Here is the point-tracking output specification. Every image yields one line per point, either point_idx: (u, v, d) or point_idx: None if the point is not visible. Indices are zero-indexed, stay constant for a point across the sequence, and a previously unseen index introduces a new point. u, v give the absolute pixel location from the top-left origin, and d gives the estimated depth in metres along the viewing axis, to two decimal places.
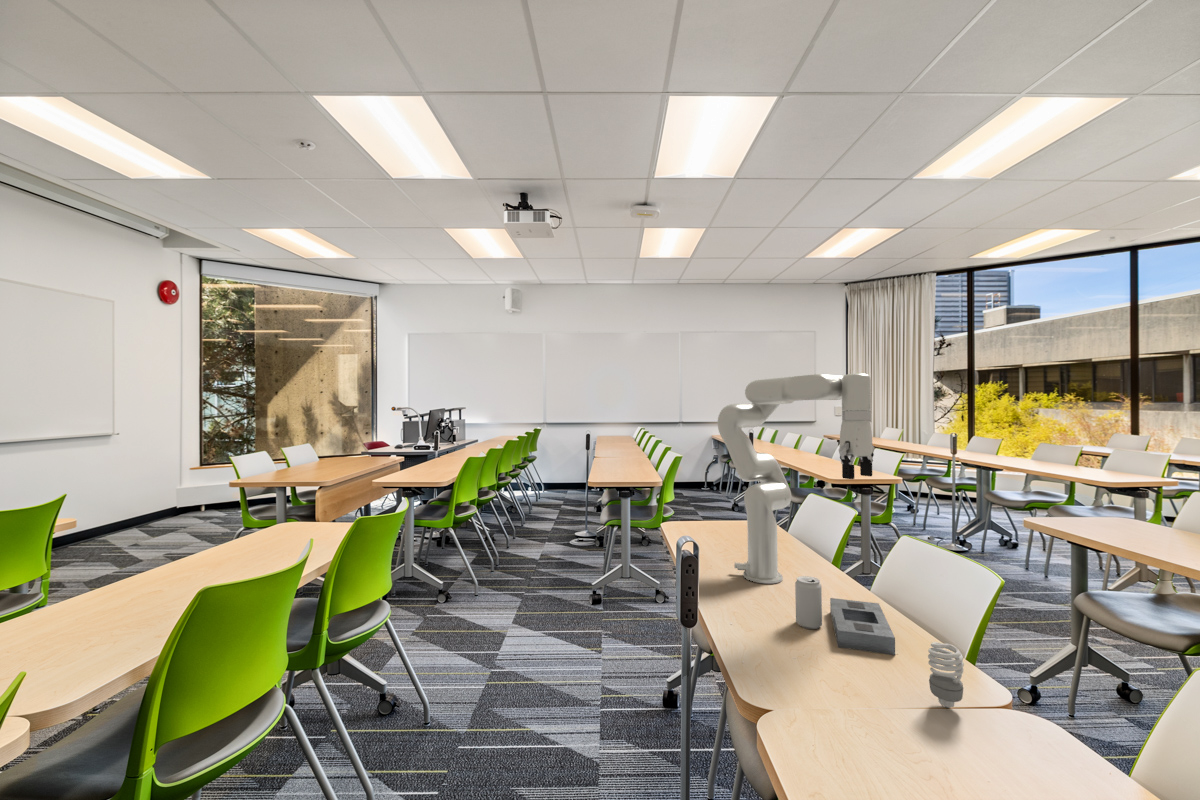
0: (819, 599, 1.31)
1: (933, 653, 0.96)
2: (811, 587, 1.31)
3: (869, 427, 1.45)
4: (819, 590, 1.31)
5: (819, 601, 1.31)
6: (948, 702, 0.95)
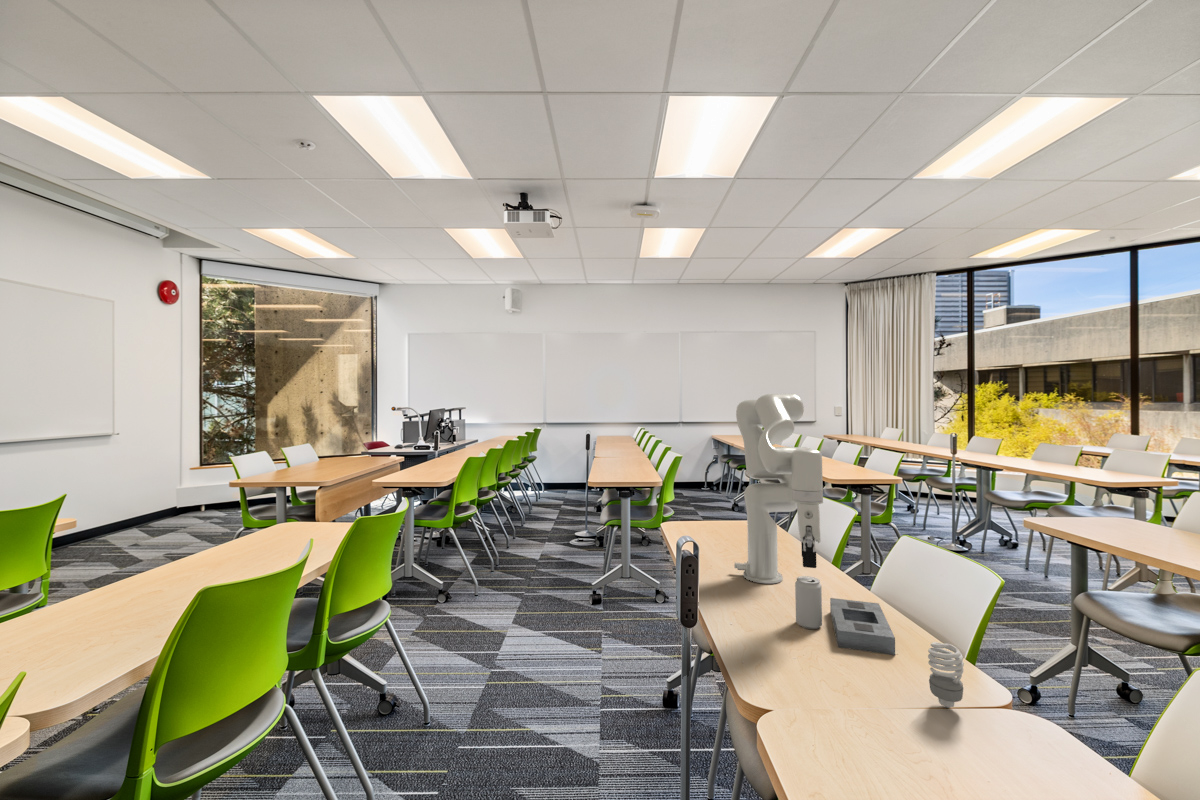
0: (819, 599, 1.31)
1: (933, 653, 0.96)
2: (811, 587, 1.31)
3: (798, 508, 1.32)
4: (819, 590, 1.31)
5: (819, 601, 1.31)
6: (948, 702, 0.95)
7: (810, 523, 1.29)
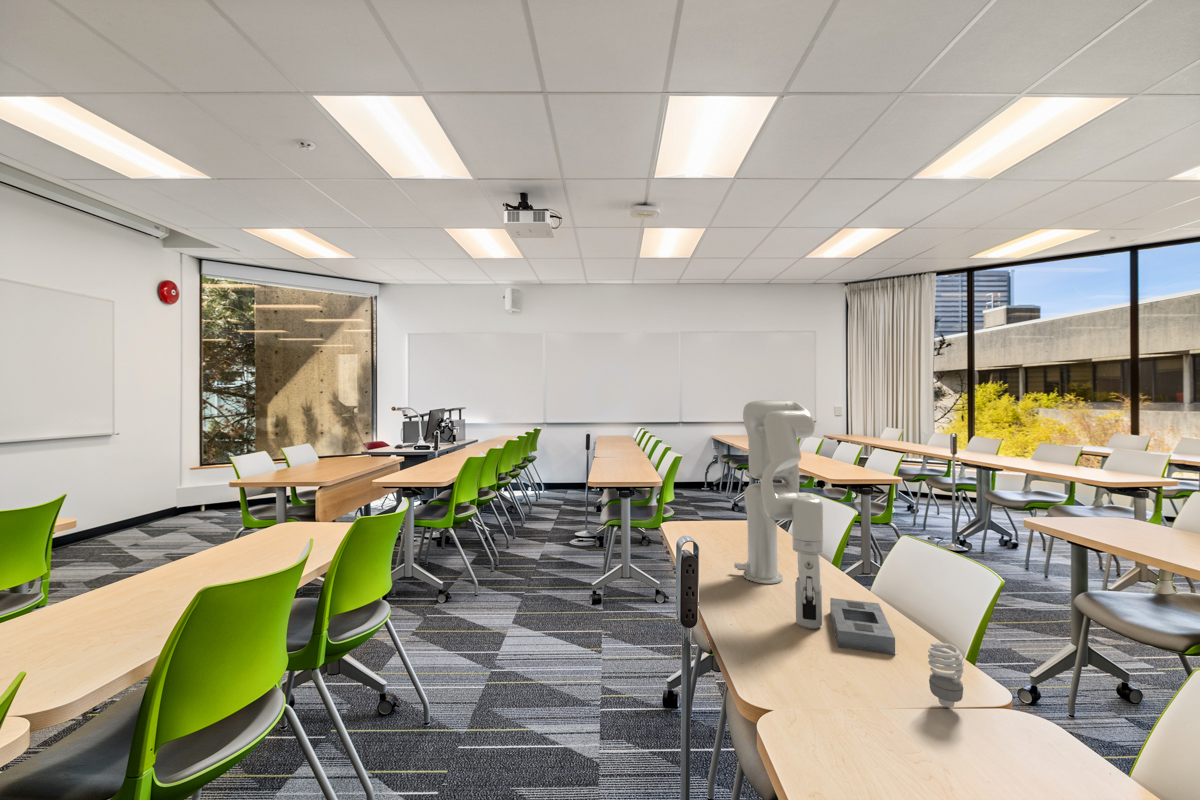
0: (819, 599, 1.31)
1: (933, 653, 0.96)
2: None
3: (798, 558, 1.32)
4: None
5: (819, 601, 1.31)
6: (948, 702, 0.95)
7: (810, 574, 1.29)
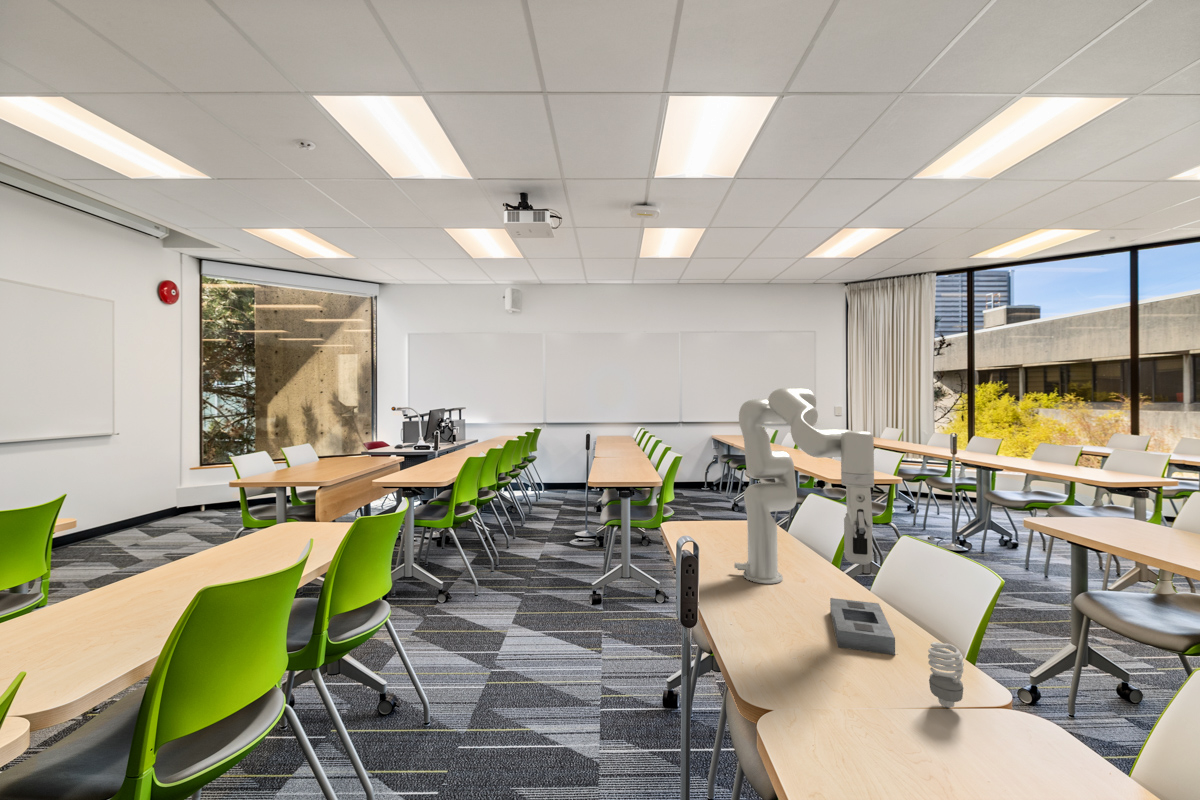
0: (870, 533, 1.27)
1: (933, 653, 0.96)
2: None
3: (848, 492, 1.28)
4: None
5: (870, 536, 1.27)
6: (948, 702, 0.95)
7: (862, 507, 1.25)
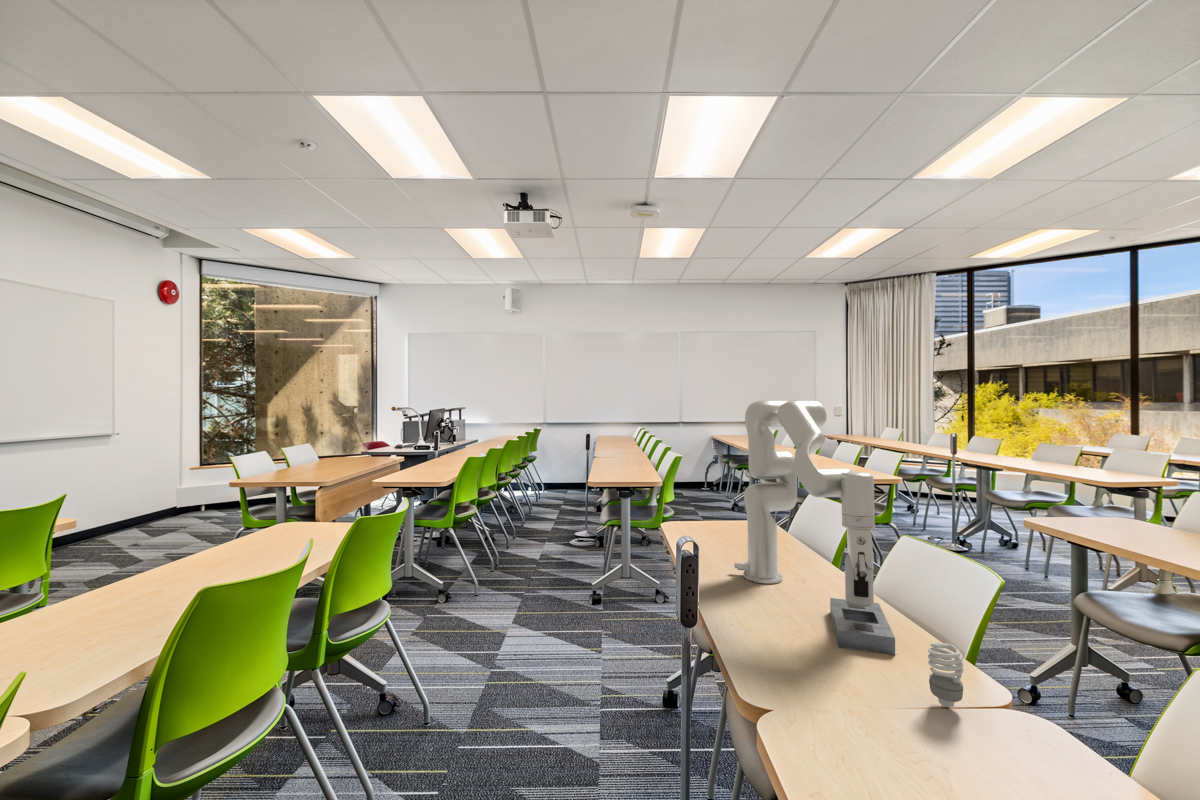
0: (871, 576, 1.27)
1: (933, 653, 0.96)
2: None
3: (849, 534, 1.28)
4: None
5: (871, 578, 1.27)
6: (948, 702, 0.95)
7: (863, 549, 1.25)
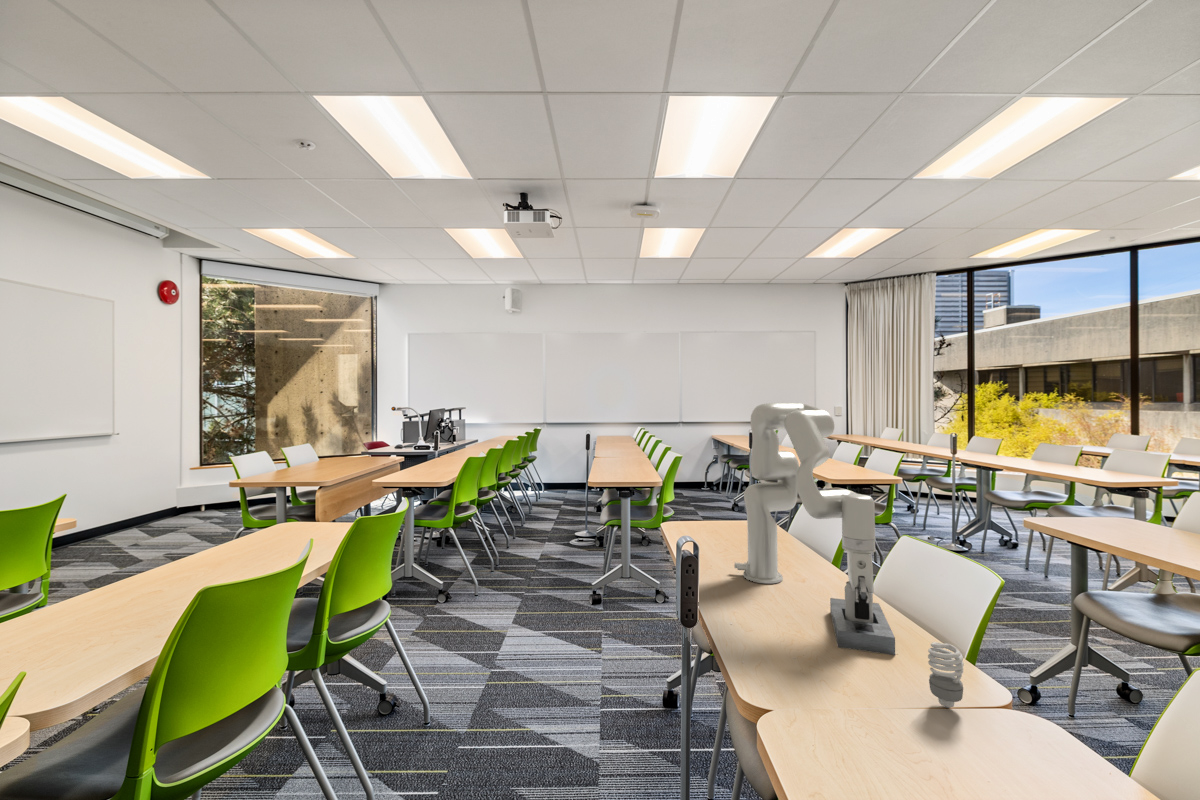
0: (871, 604, 1.27)
1: (933, 653, 0.96)
2: None
3: (849, 557, 1.28)
4: (871, 595, 1.27)
5: (870, 607, 1.27)
6: (948, 702, 0.95)
7: (863, 573, 1.25)
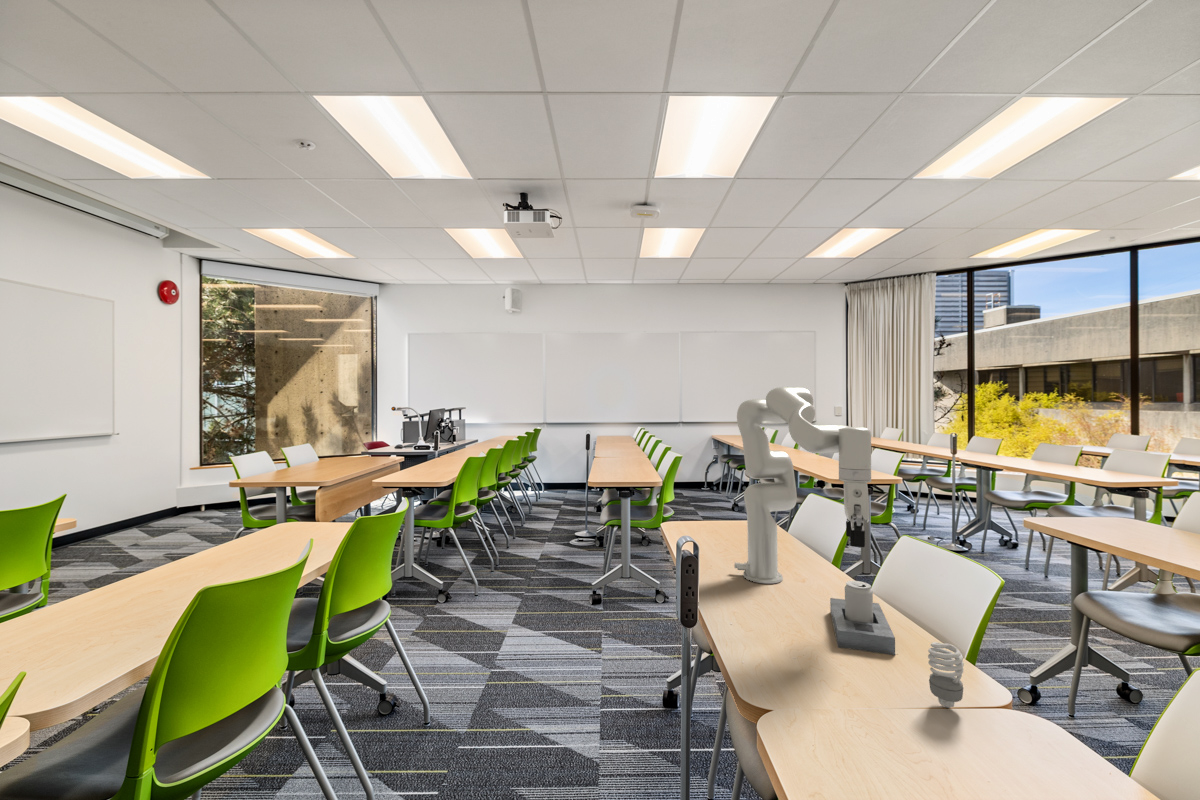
0: (871, 604, 1.27)
1: (933, 653, 0.96)
2: (862, 592, 1.27)
3: (845, 487, 1.30)
4: (871, 595, 1.27)
5: (870, 607, 1.27)
6: (948, 702, 0.95)
7: (859, 502, 1.26)
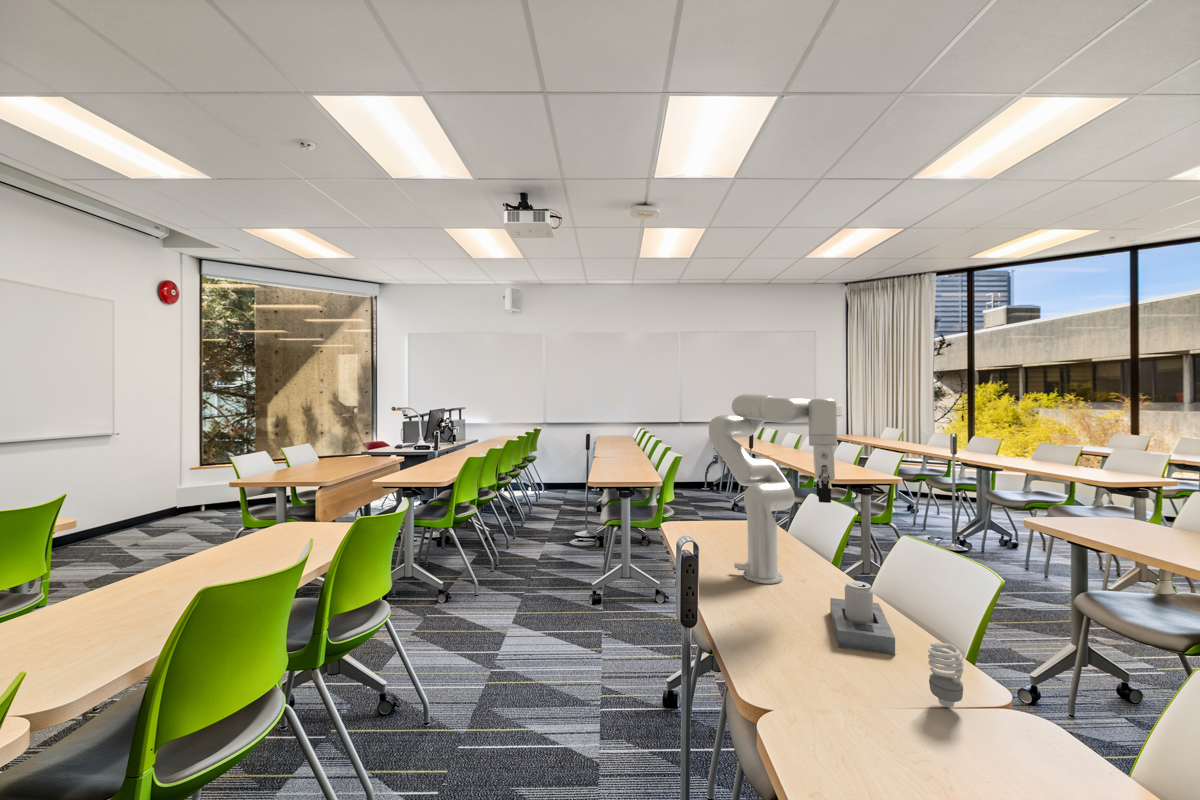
0: (871, 604, 1.27)
1: (933, 653, 0.96)
2: (862, 592, 1.27)
3: (814, 451, 1.47)
4: (871, 595, 1.27)
5: (870, 607, 1.27)
6: (948, 702, 0.95)
7: (825, 463, 1.44)
